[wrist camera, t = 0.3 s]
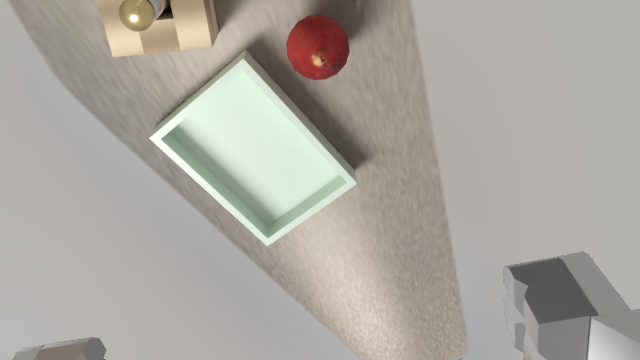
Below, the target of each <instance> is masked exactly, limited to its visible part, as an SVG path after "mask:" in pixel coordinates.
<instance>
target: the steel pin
mask: <svg viewBox="0 0 640 360" xmlns="http://www.w3.org/2000/svg"><path fill="white" fill-rule="evenodd" d="M169 4H170V0H124V1H123V2H122V4H121V5H120V7H119V17H120V20H121V22H122V23H123V24H124V26H125V27H127V28H128V29H130V30H132V31H136V32H141V31H145V30H146V29H148V28H149V27H150V26H151V25H152V24H153V22H154V21H155V20H156V19H157V18H158V17H159V16H160V15H161V13H162V12H163V11H164V10H165V9H166V8H167V7H168V6H169Z"/></svg>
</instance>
